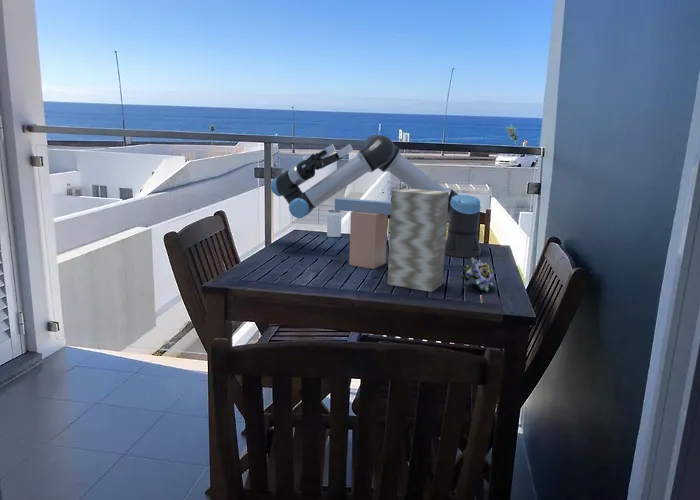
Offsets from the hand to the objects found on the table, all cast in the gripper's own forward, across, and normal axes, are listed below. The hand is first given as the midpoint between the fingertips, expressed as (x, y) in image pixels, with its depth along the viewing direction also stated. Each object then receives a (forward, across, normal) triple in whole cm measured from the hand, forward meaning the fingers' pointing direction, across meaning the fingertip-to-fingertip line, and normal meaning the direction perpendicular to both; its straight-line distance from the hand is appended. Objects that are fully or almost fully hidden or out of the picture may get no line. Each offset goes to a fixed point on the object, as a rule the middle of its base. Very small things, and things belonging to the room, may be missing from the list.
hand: (342, 147), depth 200 cm
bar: (+3, -10, +28) cm, 30 cm away
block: (-6, -10, +45) cm, 46 cm away
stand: (+15, -24, +57) cm, 64 cm away
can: (-38, +29, +26) cm, 54 cm away
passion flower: (+30, -17, +66) cm, 75 cm away
